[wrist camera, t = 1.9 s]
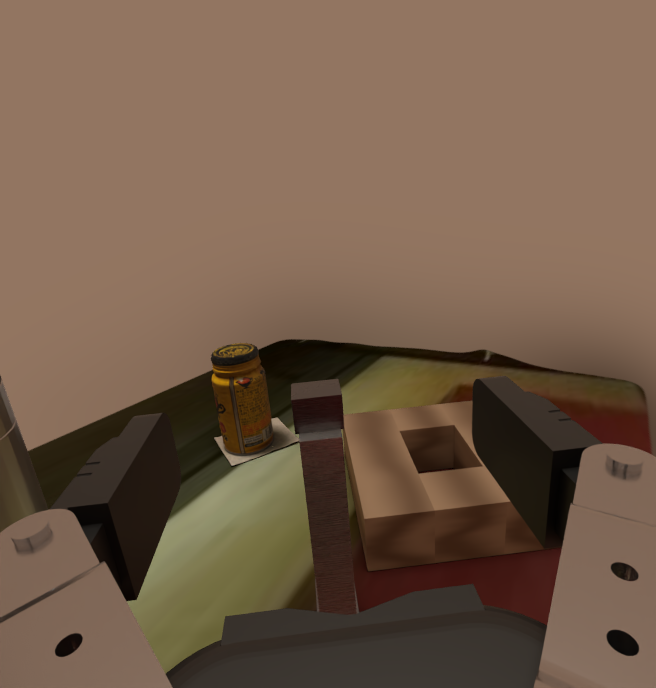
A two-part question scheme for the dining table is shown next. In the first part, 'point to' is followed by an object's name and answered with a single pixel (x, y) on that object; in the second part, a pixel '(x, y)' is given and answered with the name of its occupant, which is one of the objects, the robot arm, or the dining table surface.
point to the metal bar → (326, 492)
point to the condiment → (245, 405)
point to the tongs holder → (427, 489)
